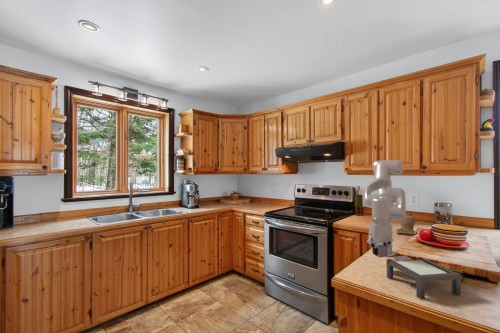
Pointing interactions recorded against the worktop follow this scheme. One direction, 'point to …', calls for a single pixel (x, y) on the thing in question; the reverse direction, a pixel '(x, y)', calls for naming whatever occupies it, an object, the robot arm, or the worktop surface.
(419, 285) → the frame
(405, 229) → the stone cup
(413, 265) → the trapdoor
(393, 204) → the robot arm
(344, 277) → the worktop surface
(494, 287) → the worktop surface
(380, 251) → the grey cube
